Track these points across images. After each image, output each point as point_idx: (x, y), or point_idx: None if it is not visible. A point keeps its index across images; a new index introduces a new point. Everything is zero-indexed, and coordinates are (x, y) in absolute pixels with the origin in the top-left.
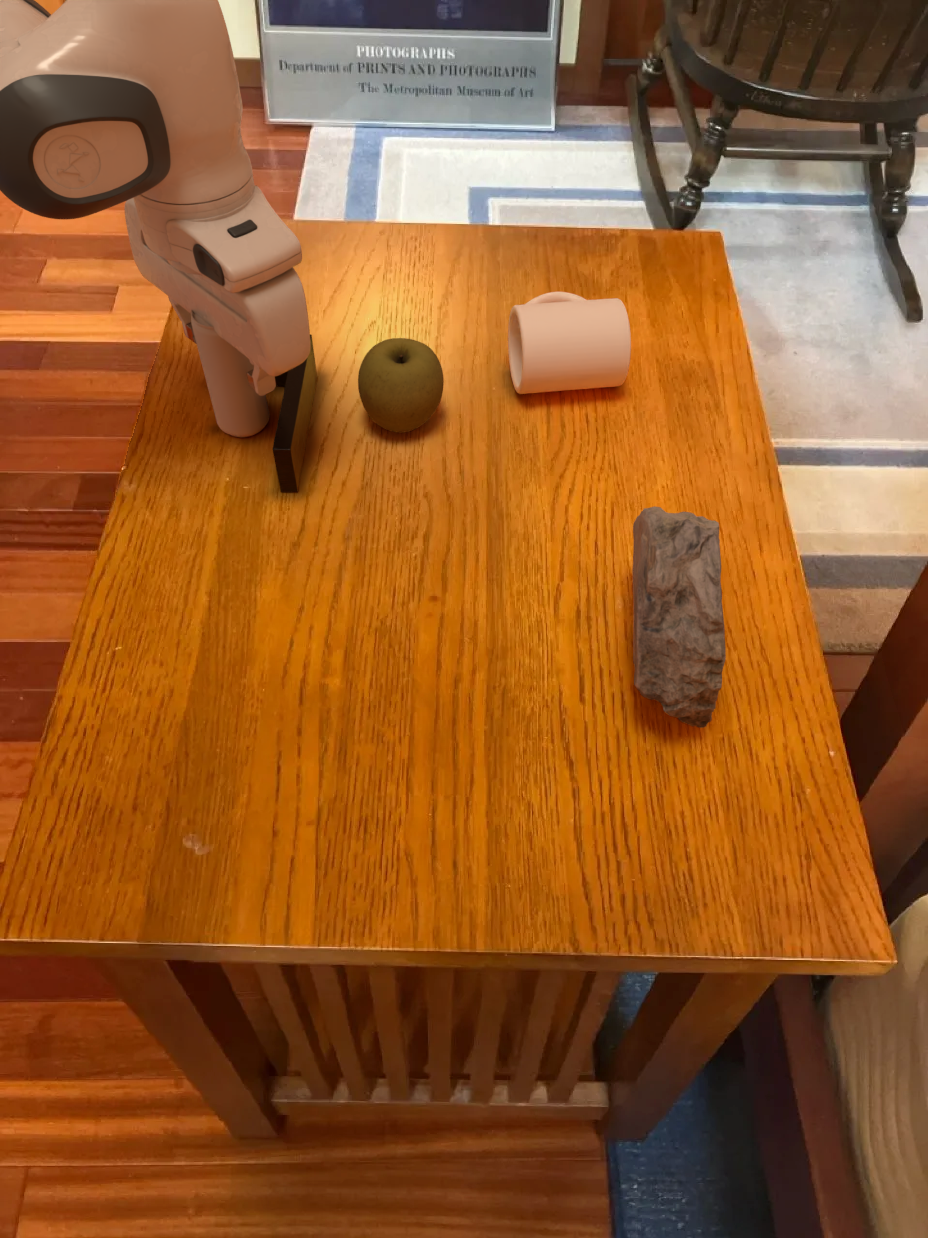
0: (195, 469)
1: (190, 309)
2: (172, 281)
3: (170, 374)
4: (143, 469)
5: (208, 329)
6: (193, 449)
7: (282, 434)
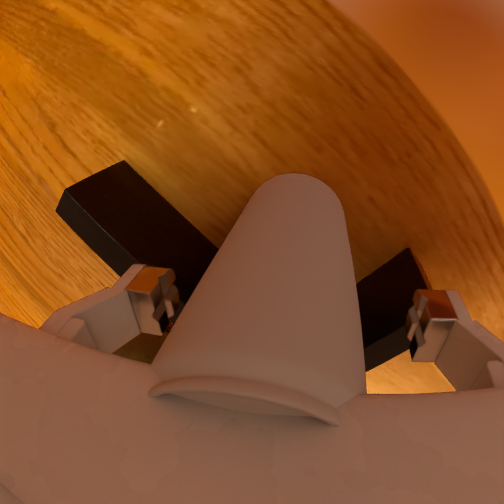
0: (252, 79)
1: (351, 421)
2: (471, 496)
3: (484, 215)
4: (318, 13)
5: (179, 375)
6: (302, 106)
7: (84, 224)
